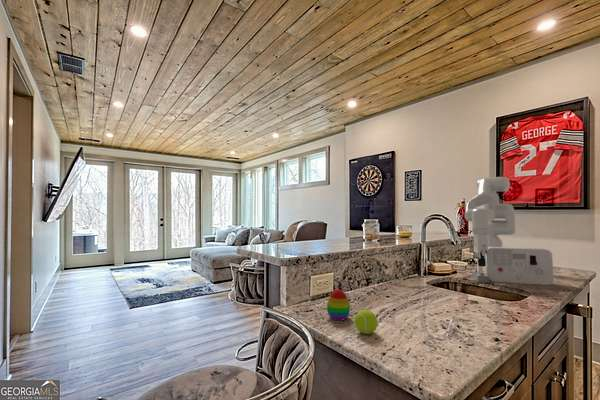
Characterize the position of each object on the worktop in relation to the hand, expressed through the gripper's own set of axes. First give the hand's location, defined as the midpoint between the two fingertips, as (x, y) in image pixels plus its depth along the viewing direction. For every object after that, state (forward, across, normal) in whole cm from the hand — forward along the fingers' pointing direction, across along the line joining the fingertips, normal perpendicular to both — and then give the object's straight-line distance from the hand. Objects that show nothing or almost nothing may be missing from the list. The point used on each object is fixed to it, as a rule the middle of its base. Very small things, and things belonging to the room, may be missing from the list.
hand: (481, 265), depth 153 cm
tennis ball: (+8, +85, -51) cm, 100 cm away
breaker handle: (+6, -6, 0) cm, 8 cm away
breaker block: (+8, -6, 0) cm, 10 cm away
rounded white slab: (+9, -6, +18) cm, 20 cm away
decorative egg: (+8, +75, -62) cm, 98 cm away
